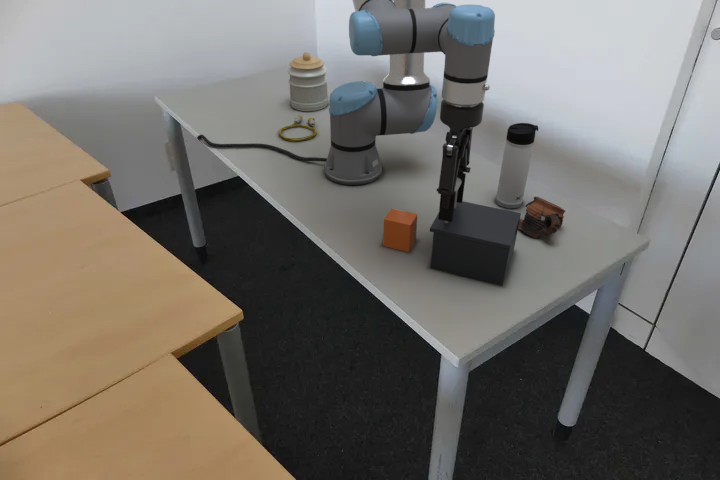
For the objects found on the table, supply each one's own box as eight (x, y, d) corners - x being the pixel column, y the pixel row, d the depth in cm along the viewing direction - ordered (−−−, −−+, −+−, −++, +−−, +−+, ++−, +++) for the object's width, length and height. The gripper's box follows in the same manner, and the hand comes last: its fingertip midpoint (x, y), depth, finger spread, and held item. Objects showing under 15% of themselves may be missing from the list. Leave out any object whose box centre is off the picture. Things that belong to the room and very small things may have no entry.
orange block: (382, 246, 118) (383, 219, 114) (390, 235, 122) (391, 208, 118) (409, 252, 116) (410, 225, 112) (415, 240, 120) (417, 214, 116)
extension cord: (331, 127, 170) (331, 121, 169) (300, 145, 160) (299, 139, 158) (301, 119, 176) (300, 113, 175) (268, 136, 165) (268, 129, 164)
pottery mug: (507, 222, 126) (524, 190, 124) (539, 235, 129) (556, 204, 127) (533, 240, 115) (552, 205, 113) (567, 253, 118) (586, 219, 116)
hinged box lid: (429, 231, 107) (432, 197, 102) (446, 201, 116) (449, 169, 112) (509, 249, 102) (516, 214, 97) (520, 216, 111) (526, 183, 107)
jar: (296, 96, 192) (293, 45, 182) (332, 99, 190) (330, 47, 180) (285, 110, 182) (280, 57, 172) (322, 113, 180) (320, 59, 169)
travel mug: (523, 210, 130) (539, 132, 118) (495, 207, 131) (508, 130, 120) (522, 197, 135) (537, 121, 123) (495, 194, 136) (508, 119, 125)
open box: (430, 268, 112) (433, 232, 107) (446, 236, 121) (450, 202, 116) (502, 286, 107) (509, 249, 102) (513, 251, 116) (520, 216, 111)
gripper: (470, 124, 88) (456, 240, 101) (495, 85, 103) (480, 190, 116) (425, 117, 90) (417, 231, 103) (456, 80, 105) (445, 184, 118)
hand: (450, 210), depth 110 cm, fingers closed on hinged box lid, 7 cm apart
